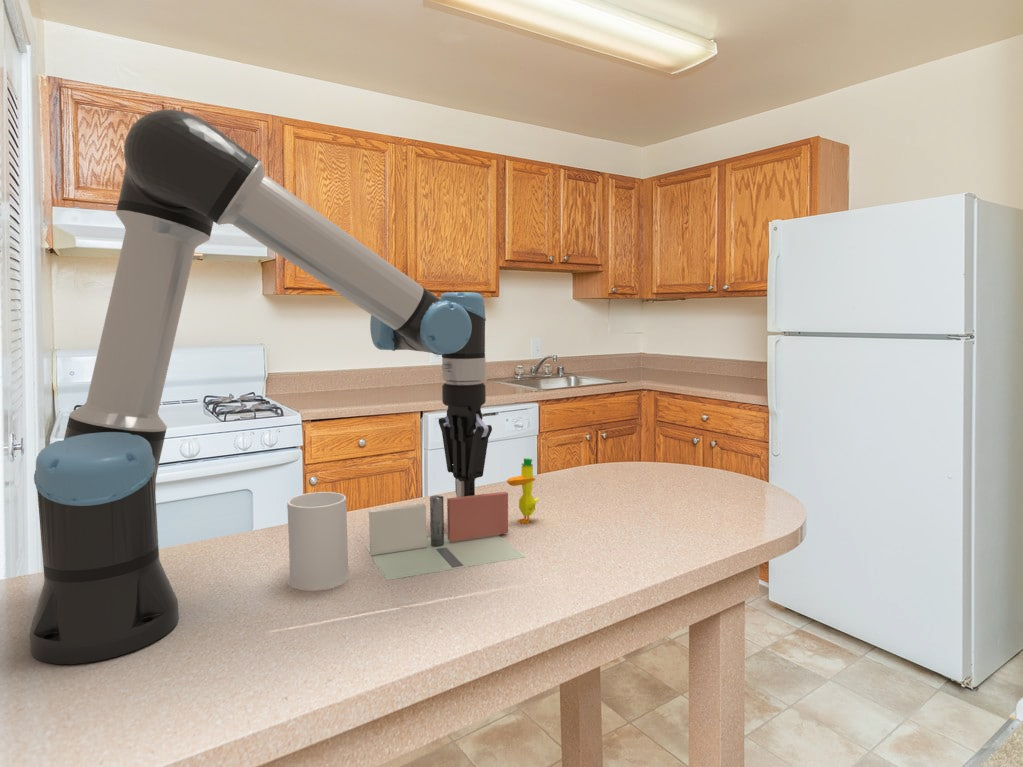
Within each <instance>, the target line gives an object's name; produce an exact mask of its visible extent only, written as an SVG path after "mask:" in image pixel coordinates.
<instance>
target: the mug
mask: <svg viewBox="0 0 1023 767" xmlns="http://www.w3.org/2000/svg"><path fill="white" fill-rule="evenodd" d="M286 507H287V526H288V527H287V529H288V531H287V532H288V553H289V554H288V557H289V577H288V578H289V579H288V585H289V586H290V587H291V588H293V589H295V590H298V591H299V590H300V591H306V592H307V591H308V592H312V591H315V592H316V591H323V590H330V589H332V588H333V589H334V588H337V587H339V586H341V585H343V584H344V583H346V582H347V581H349V580H350V577H351V572H350V567H349V550H348V548H349V546H348V520H347V518H348V517H347V516H348V514H347V513H348V512H347V511H348V510H347V496H346V495H345V494H343V493H339V492H334V491H316V492H315V491H313V492H309V493H308V492H307V493H303V494H299V495H295V496H293V497H291V498H289V499H288V500H287V506H286Z"/></svg>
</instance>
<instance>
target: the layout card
mask: <svg viewBox="0 0 1023 767" xmlns="http://www.w3.org/2000/svg"><path fill="white" fill-rule="evenodd" d="M365 547H366V549H367V551H368V552H369V554H370V545H366V546H365ZM371 558H372V560H373V561H374V562H375V564H376V566H377V568H378V569H379V571H380V573H381V574H382V576H383V577H384V579H385V581H392V580H397V579H403V578H409V577H415V576H422V575H427V574H434V573H441V572H444V571H450V570H457V569H464V568H468V567H475V566H476V567H477V566H480V565H481V566H482V565H486V564H493V563H499V562H505V561H512V560H517V559H522V558H526V556H525V555H524V554H523V553H522V552H520V551H519V550H518V549H516V548H515V547H514V546H513V545H511V544H510V543H509V542H508V541H507V540H505V539H504V538H503V537H501V536H500V534H498V535H491V536H484V537H477V538H471V539H464V540H457V541H451V542H450V541H449V540H448V534H444V545H443V546H440V547H433V546H431V536H428V537H427V547H425V548H418V549H412V550H405V551H398V552H392V553H385V554H378V555H372V556H371Z"/></svg>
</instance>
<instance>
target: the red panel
mask: <svg viewBox="0 0 1023 767" xmlns="http://www.w3.org/2000/svg"><path fill="white" fill-rule="evenodd" d="M446 502H447V503H446V504H447V505H446V506H447V509H446V510H447V511H446V513H447V518H446V519H447V535H448V540H449V541H450V542H451V541H457V540H464V539H471V538H477V537H484V536H491V535H503V534H508V533H509V492H506V491H500V492H498V491H497V492H490V493H482V494H481V493H480V494H475V495H472V496H464V497H449V498H448V497H447V498H446Z"/></svg>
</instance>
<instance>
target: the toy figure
mask: <svg viewBox="0 0 1023 767" xmlns="http://www.w3.org/2000/svg"><path fill="white" fill-rule="evenodd" d="M532 462H533V459H532V458H527V457H525V458H523V463H521V470H520V471H521V474H520V475H516V476H512V477H509V478H508V479H506V482H507V484H508V485H510V486H511V487H516V486H521V489H522V495H521V497H520V498H519V499H518V509H519V511H520V512H521V514H522V516H523V518H519V519H518V520H517V522H518V523H520V524H521V525H524V524H529V523H531V520H530V516H532V515H533V514H534V512H535V511H536V504H537V502H538V500H539V499H540V497H536V498H534V497H533V496H532V490H533V482H535V481H536V478H535V477H534V464H532Z"/></svg>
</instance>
